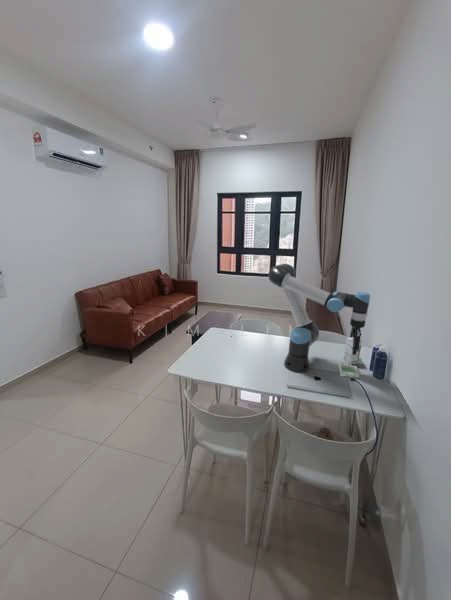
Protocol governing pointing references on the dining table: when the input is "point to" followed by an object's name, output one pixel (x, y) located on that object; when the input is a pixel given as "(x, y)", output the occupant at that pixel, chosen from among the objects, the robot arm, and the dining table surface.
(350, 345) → the syrup box
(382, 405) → the dining table surface
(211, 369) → the dining table surface
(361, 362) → the grey box
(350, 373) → the white green flat box
